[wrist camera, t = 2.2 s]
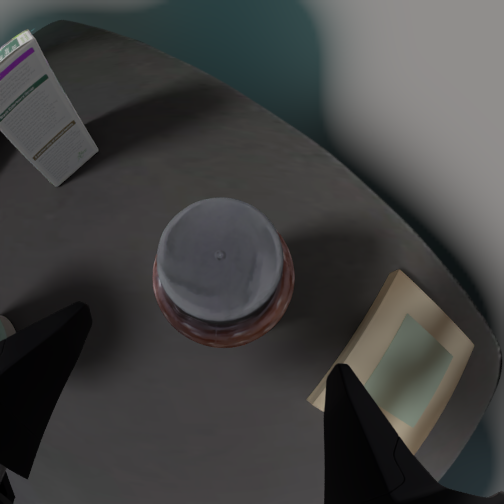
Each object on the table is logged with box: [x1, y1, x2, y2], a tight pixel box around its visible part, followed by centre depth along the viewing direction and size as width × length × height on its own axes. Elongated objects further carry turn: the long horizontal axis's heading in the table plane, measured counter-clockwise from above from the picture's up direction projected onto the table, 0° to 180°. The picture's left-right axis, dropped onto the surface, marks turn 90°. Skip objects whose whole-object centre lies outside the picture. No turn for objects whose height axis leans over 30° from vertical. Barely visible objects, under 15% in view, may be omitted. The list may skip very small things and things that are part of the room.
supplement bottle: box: [153, 197, 295, 348], centre depth 14 cm, size 6×6×11 cm
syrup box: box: [0, 29, 99, 187], centre depth 14 cm, size 6×6×14 cm
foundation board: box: [306, 269, 474, 455], centre depth 17 cm, size 12×12×2 cm
